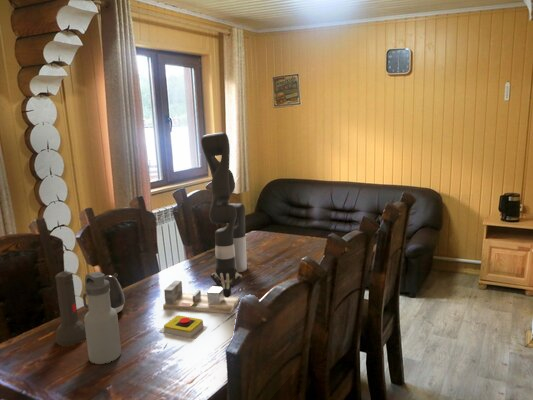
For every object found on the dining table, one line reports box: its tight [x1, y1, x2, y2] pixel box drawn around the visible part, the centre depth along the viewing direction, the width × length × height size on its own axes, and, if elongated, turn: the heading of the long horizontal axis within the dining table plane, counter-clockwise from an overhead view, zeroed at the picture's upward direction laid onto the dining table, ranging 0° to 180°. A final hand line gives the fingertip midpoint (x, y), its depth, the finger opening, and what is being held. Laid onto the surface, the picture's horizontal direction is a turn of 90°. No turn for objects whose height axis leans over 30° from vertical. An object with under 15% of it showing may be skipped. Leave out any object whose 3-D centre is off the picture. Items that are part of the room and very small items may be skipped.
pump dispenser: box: [105, 272, 126, 314], centre depth 170 cm, size 10×10×15 cm
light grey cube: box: [206, 285, 225, 305], centre depth 174 cm, size 6×5×5 cm
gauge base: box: [162, 280, 240, 314], centre depth 175 cm, size 12×28×8 cm, turn 77°
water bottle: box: [82, 271, 122, 365], centre depth 137 cm, size 10×10×28 cm
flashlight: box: [54, 271, 86, 347], centre depth 149 cm, size 10×25×10 cm
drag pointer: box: [190, 289, 202, 307], centre depth 174 cm, size 10×1×3 cm, turn 167°
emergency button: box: [158, 314, 207, 340], centre depth 155 cm, size 9×4×15 cm
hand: (227, 296), depth 173 cm, fingers closed
